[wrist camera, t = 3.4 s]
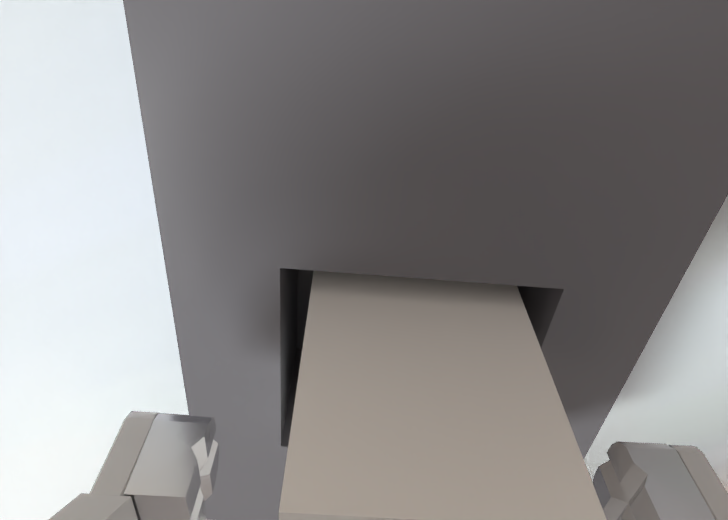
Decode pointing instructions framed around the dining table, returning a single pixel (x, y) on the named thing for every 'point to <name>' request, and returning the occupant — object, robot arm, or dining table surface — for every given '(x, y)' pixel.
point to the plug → (428, 408)
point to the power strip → (422, 181)
